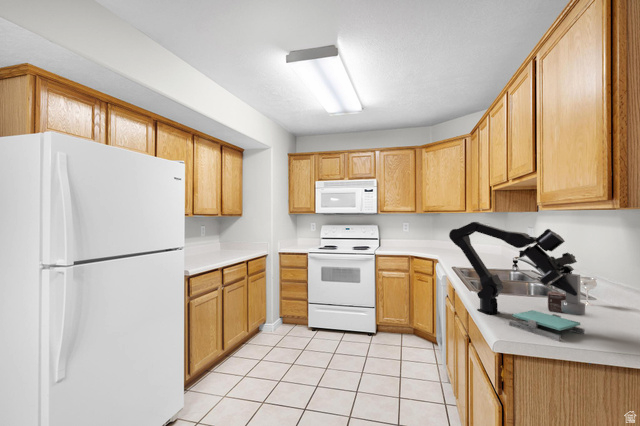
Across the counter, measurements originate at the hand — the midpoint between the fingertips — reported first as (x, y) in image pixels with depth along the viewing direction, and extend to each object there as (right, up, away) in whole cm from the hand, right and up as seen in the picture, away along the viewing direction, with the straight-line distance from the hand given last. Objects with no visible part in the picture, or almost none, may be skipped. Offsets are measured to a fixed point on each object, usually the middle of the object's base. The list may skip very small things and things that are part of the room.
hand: (577, 294), depth 110 cm
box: (+11, -14, +25) cm, 30 cm away
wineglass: (+32, -13, +33) cm, 48 cm away
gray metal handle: (-1, -7, +1) cm, 7 cm away
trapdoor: (-10, -11, +3) cm, 15 cm away
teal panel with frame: (-10, -13, +3) cm, 17 cm away
